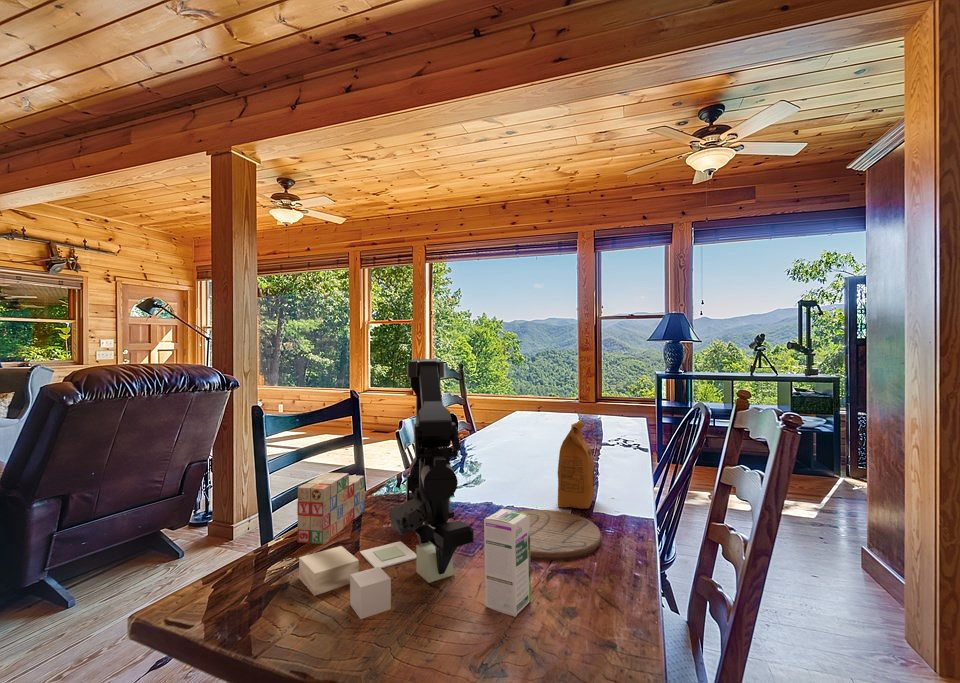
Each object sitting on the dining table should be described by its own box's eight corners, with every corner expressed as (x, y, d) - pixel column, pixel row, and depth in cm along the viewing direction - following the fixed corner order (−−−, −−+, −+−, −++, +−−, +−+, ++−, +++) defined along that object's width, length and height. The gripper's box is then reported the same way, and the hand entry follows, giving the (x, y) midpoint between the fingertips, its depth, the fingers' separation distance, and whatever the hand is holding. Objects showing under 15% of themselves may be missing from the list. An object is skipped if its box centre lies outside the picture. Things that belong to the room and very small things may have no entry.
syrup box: (515, 618, 71) (515, 524, 72) (483, 607, 74) (483, 517, 75) (531, 601, 76) (531, 513, 77) (500, 591, 79) (500, 506, 80)
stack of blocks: (342, 510, 121) (343, 463, 121) (365, 511, 120) (365, 464, 120) (296, 543, 100) (297, 486, 100) (323, 545, 99) (323, 487, 99)
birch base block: (341, 566, 89) (341, 545, 89) (358, 582, 83) (358, 560, 83) (299, 579, 84) (299, 557, 84) (314, 597, 78) (314, 573, 78)
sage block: (439, 564, 89) (439, 539, 89) (452, 575, 85) (452, 548, 85) (416, 571, 86) (416, 545, 87) (428, 582, 82) (428, 554, 82)
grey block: (379, 596, 78) (379, 566, 78) (390, 609, 74) (390, 578, 74) (350, 605, 75) (350, 574, 75) (360, 619, 71) (360, 587, 71)
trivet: (611, 528, 109) (611, 520, 109) (582, 572, 87) (582, 562, 87) (515, 510, 121) (515, 503, 121) (468, 546, 99) (468, 537, 99)
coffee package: (600, 499, 129) (599, 420, 129) (590, 513, 117) (589, 427, 118) (565, 494, 133) (564, 418, 133) (552, 508, 122) (552, 424, 122)
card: (400, 542, 100) (400, 540, 100) (418, 557, 92) (418, 555, 92) (359, 552, 95) (359, 550, 95) (376, 569, 87) (376, 567, 87)
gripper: (375, 479, 89) (374, 560, 89) (418, 505, 74) (417, 603, 74) (426, 470, 96) (426, 546, 95) (475, 493, 80) (475, 584, 80)
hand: (434, 567), depth 86 cm, fingers closed on sage block, 5 cm apart
